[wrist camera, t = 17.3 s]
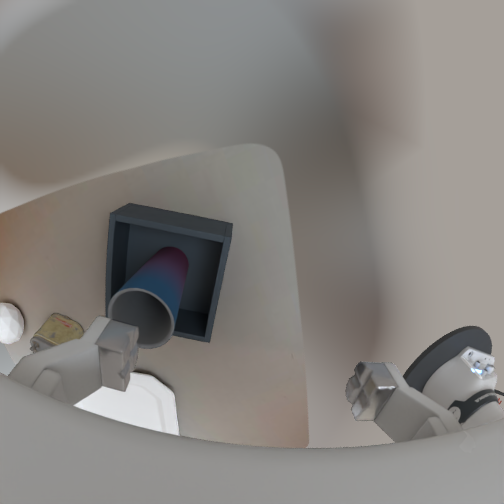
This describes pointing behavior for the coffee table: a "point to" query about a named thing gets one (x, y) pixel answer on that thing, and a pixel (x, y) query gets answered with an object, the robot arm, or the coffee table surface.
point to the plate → (137, 404)
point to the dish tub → (182, 237)
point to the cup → (153, 297)
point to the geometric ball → (10, 323)
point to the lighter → (55, 333)
